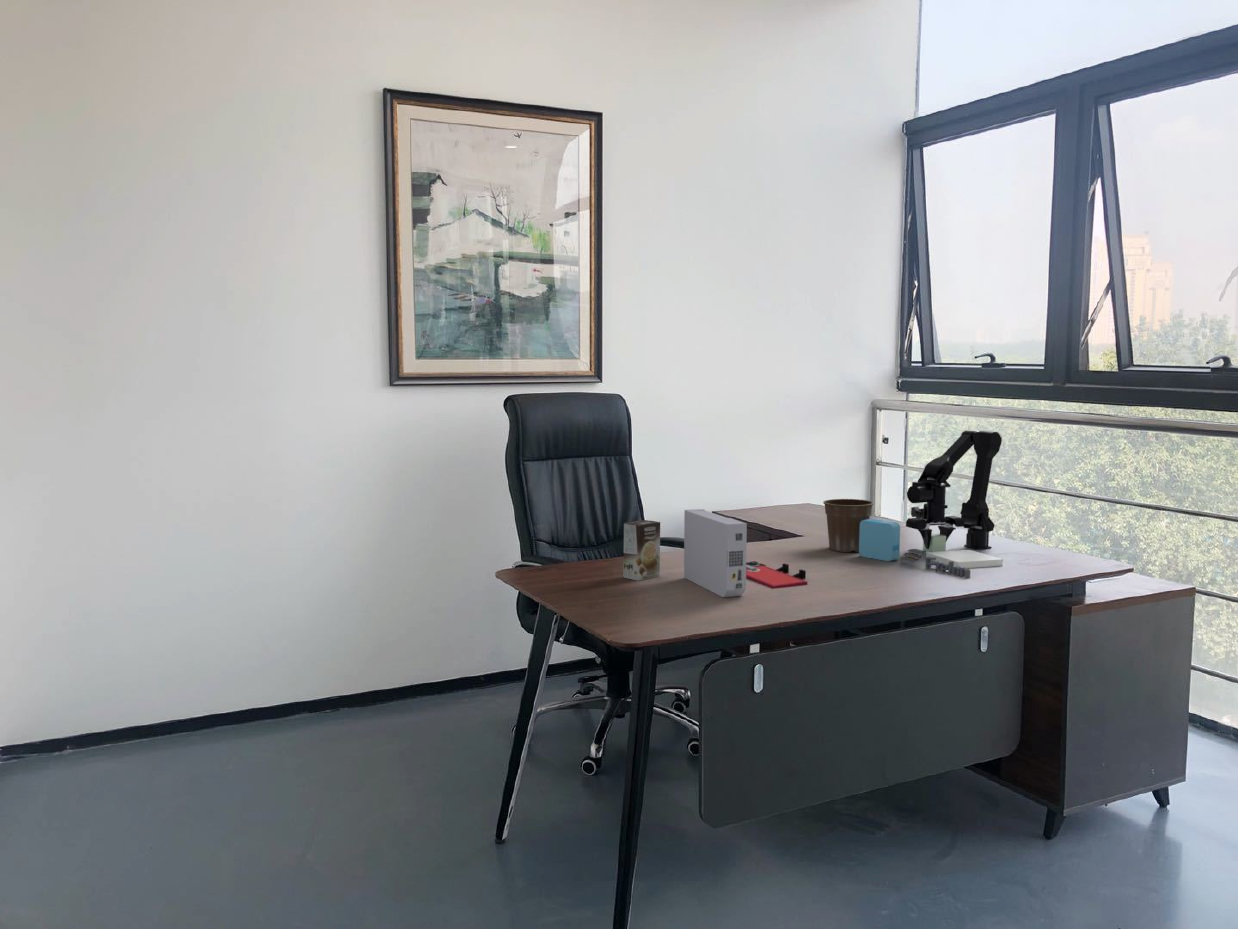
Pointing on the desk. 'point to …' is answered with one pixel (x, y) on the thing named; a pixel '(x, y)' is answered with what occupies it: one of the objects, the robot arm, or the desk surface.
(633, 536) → the coffee box
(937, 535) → the sage block
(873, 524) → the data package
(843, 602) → the desk surface
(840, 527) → the plant pot
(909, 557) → the extruded letter logo
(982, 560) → the base plate
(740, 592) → the game console
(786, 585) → the red board with handle
